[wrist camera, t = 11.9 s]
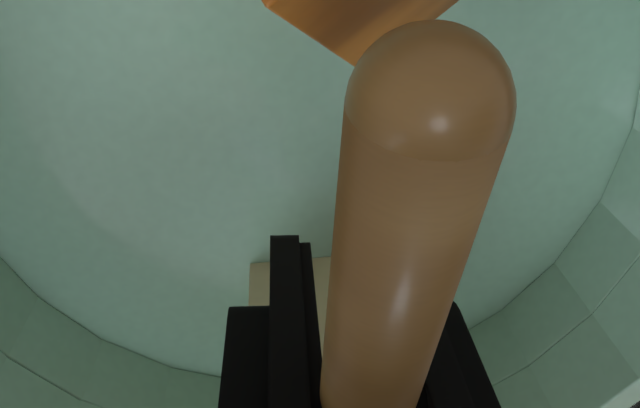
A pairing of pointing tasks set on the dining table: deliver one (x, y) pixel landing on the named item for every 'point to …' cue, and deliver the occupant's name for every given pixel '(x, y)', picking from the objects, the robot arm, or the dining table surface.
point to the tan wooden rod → (409, 204)
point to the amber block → (353, 20)
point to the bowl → (292, 195)
